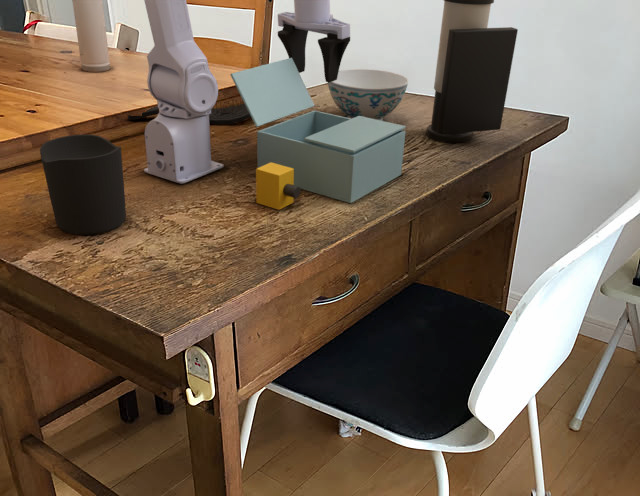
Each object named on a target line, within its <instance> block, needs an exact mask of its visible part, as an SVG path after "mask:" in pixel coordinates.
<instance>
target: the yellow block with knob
mask: <svg viewBox="0 0 640 496" xmlns="http://www.w3.org/2000/svg"><path fill="white" fill-rule="evenodd" d="M301 191H302V189H300V187H298V186H294V169H293V168H289V167H286V166H282V165H279V164H275V163H272V162H271V163H268V164H266V165H264V166H261V167H259V168H258V167H257V168H255V196H256V198H255V200H256V204H259V205H262V206H265V207H267V208H272V209H275V210H278V211H280V210H282V209H284V208H286V207H288V206H289V205H292V204H294V199H298V198H299V197H300V196H301Z"/></svg>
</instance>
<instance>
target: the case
mask: <svg viewBox="0 0 640 496" xmlns="http://www.w3.org/2000/svg"><path fill="white" fill-rule="evenodd" d="M405 129H406V125H402V124H397V123H394V122H389V121H385V120H382V121H381V120H376V119H372V118H367V117H363V116H357V117H355V118H352V119H350V118H347V116H346V117H345V116H341V115H337V114H332V113H329V112H328V113H327V112H323V111H319V110H312V111H309V112H306V113H303V114H300V115H298V116H295V117H292V118H290V119H287V120H284V121H281V122H279V123H276V124H274V125H269V126H267V127H265V128H261V129H260V130H257V131H256V134H257V135H256V137H257V138H256V142H257V143H256V146H257V147H256V151H257V152H256V153H257V154H256V155H257V168H259V167H261V166H264V165H266V164H268V163H271V162H272V163H275V164H279V165H282V166H286V167H289V168H293V169H294V186H298V187H300V190H304V191H307V192H310V193H314V194H318V195H320V196H325V197H327V198H331V199H335V200H338V201H341V202H343V203H344V202H345V203H348V204H352V203H354V202H356V201H358V200H359V199H362V198H363V197H365V196H366V195H368V194H370V193H371V192H374V191H375V190H377V189H379V188H381V187H383V186H384V185H386V184H387V183H389V182H390V181H391V182H392V180H394V179H396V178H398V177H401V175H402V171H403V170H402V169H403V162H404V161H403V160H404V150H405V142H406V133H407V131H406V130H405Z"/></svg>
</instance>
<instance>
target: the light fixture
mask: <svg viewBox="0 0 640 496" xmlns="http://www.w3.org/2000/svg"><path fill="white" fill-rule="evenodd" d="M443 1H444V2H443V10H442V18H441V19H442V20H441V26H440V34H439V42H438V51H437V59H436V68H435V76H434V84H433V89H434V91H435V92H434V99H433V106H432V115H431V124H429V125H428V126H427V127H426V136H427V137H428V138H430V139H432V140H434V141H437V142H441V143H449V144H461V143H466V142H469V141H471V140H472V139H473V136H474V133H475V132H476V133H477V132H486V131H487V132H489V131H499V130H501V129H502V128H501V127H502V123H503V117H504V111H505V104H506V99H507V94H508V88H509V81H510V77H511V72H512V71H511V70H512V66H513V59H514V54H515V49H516V43H517V37H518V30H519V29H518V28H515V27H512V26H511V27H510V26H509V27H488V26H489V18H490V11H491V7H492V4H494V3H495V0H443Z"/></svg>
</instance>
